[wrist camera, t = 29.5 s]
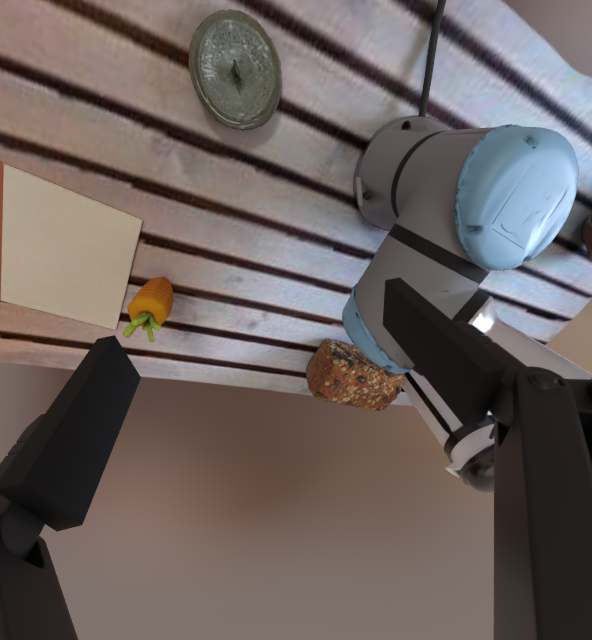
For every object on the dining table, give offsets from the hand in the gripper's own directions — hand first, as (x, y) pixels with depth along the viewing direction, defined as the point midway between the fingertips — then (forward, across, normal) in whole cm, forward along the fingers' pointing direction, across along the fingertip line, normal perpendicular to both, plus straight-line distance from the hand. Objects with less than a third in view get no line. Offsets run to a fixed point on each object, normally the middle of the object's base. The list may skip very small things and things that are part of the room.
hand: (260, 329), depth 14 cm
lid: (+33, +2, +14) cm, 36 cm away
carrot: (+33, -15, -9) cm, 37 cm away
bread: (+33, +15, -36) cm, 51 cm away
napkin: (+33, -28, -3) cm, 43 cm away
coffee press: (+33, +34, -42) cm, 63 cm away
